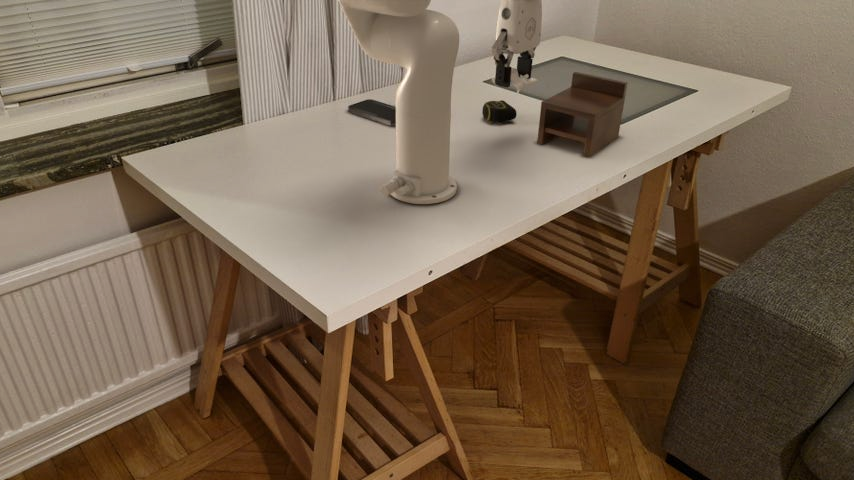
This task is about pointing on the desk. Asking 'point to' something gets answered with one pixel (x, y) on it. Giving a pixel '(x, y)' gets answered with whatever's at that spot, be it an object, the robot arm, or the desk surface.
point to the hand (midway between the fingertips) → (513, 81)
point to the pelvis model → (518, 80)
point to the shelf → (584, 112)
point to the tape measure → (498, 111)
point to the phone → (375, 111)
